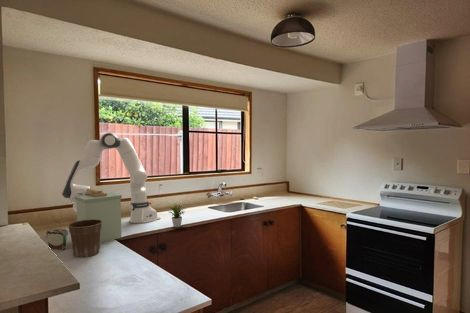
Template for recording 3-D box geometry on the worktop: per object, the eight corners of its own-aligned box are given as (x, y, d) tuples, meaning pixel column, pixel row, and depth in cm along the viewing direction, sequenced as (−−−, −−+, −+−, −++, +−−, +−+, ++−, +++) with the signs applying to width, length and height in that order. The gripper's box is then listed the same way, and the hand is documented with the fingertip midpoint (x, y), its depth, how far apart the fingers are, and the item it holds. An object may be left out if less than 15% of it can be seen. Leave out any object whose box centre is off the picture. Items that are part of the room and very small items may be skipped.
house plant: (182, 229, 203) (182, 205, 203) (163, 229, 206) (162, 204, 205) (190, 224, 217) (189, 201, 217) (171, 223, 220) (171, 201, 219)
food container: (73, 247, 171) (73, 229, 170) (64, 250, 165) (64, 232, 164) (55, 245, 174) (55, 227, 174) (46, 249, 168) (45, 230, 168)
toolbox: (111, 232, 199) (110, 190, 198) (122, 237, 187) (121, 192, 186) (76, 239, 185) (75, 193, 184) (86, 245, 173) (84, 197, 172)
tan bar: (91, 192, 198) (91, 188, 198) (102, 195, 185) (102, 190, 185) (85, 193, 196) (85, 188, 196) (96, 196, 183) (96, 191, 183)
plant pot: (61, 258, 153) (60, 226, 152) (81, 248, 169) (80, 218, 168) (91, 260, 151) (90, 227, 150) (109, 249, 167) (108, 219, 166)
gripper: (66, 196, 196) (72, 187, 187) (99, 193, 210) (106, 184, 202) (68, 206, 194) (74, 197, 185) (101, 201, 208) (108, 193, 199)
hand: (91, 190), depth 194 cm, fingers closed on tan bar, 3 cm apart
